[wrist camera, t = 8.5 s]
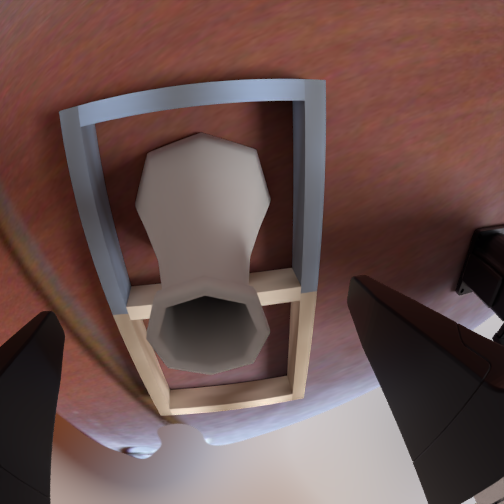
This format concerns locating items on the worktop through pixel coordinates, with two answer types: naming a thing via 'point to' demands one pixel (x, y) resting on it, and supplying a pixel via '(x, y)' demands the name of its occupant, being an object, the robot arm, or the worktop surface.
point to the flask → (204, 252)
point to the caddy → (265, 283)
